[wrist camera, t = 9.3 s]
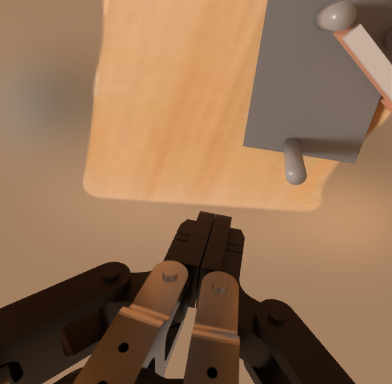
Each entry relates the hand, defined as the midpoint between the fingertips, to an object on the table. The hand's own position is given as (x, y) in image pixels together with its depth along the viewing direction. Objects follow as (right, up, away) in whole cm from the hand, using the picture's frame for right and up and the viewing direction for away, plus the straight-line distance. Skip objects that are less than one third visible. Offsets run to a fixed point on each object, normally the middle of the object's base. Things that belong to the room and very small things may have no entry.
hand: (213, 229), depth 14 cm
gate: (+17, +15, +17) cm, 28 cm away
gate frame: (+13, +15, +20) cm, 28 cm away
